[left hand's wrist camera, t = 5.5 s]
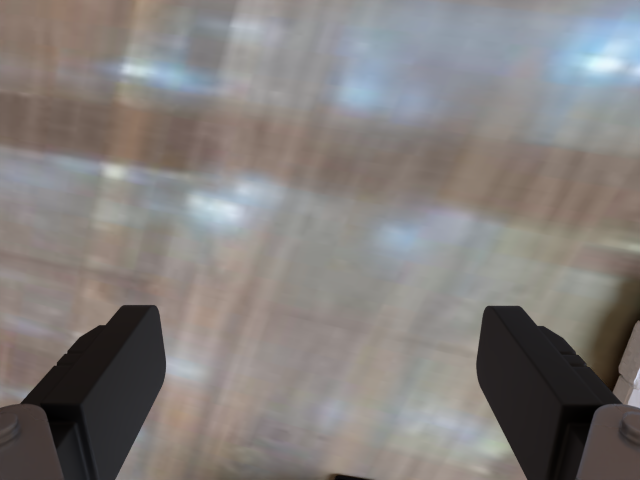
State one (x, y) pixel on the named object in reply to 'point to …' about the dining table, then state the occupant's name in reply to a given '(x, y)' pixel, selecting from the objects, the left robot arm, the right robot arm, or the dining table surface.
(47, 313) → the dining table surface
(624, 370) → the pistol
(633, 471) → the left robot arm
